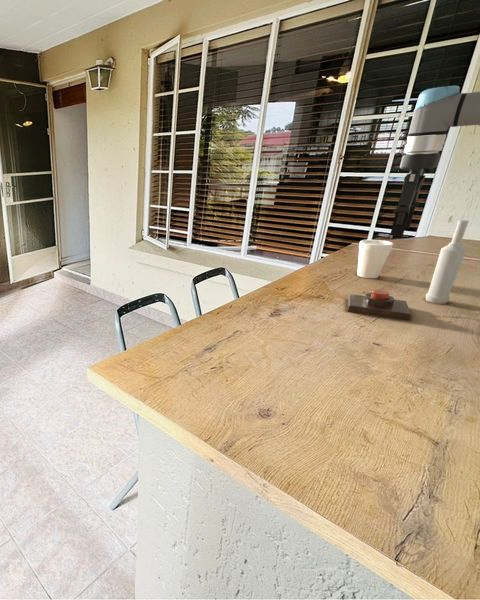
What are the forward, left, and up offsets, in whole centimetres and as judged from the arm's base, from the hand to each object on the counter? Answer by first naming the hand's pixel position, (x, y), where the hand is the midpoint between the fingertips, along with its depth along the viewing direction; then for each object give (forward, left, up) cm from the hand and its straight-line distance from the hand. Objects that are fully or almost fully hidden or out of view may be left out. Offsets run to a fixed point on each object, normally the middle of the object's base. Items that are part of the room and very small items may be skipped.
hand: (399, 231), depth 102 cm
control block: (0, +7, -22) cm, 23 cm away
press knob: (0, +7, -19) cm, 20 cm away
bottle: (-12, -11, -23) cm, 28 cm away
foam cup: (+8, -28, -23) cm, 37 cm away
